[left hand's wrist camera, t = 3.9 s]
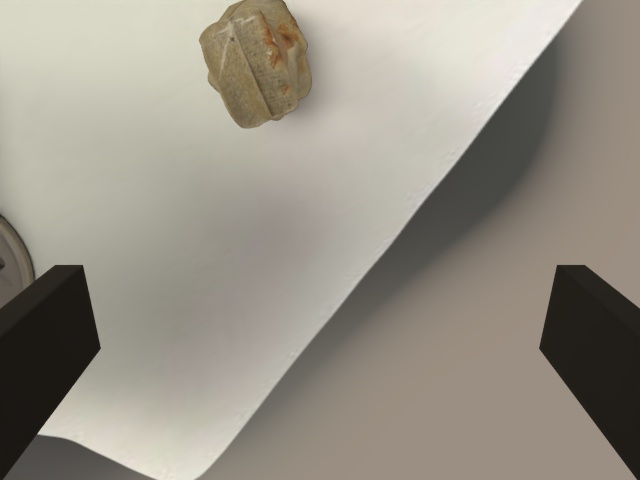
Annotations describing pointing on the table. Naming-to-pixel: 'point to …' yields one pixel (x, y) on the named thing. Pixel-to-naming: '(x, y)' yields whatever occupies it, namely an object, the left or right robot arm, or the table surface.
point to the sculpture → (257, 61)
